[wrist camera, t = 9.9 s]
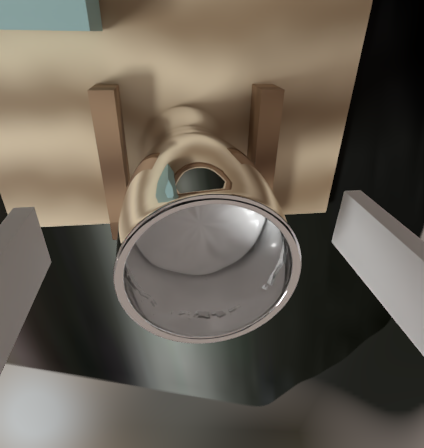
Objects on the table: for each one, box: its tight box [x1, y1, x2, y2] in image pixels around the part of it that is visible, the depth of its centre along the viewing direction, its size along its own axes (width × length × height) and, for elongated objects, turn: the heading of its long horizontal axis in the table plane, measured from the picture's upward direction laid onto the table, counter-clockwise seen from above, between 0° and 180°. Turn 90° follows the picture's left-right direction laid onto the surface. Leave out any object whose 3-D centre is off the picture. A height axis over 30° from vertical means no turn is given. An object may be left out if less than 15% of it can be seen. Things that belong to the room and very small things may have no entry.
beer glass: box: [113, 106, 301, 343], centre depth 18 cm, size 7×7×15 cm
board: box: [0, 0, 373, 240], centre depth 22 cm, size 17×26×4 cm, turn 89°
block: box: [0, 0, 103, 31], centre depth 17 cm, size 2×9×4 cm, turn 89°
